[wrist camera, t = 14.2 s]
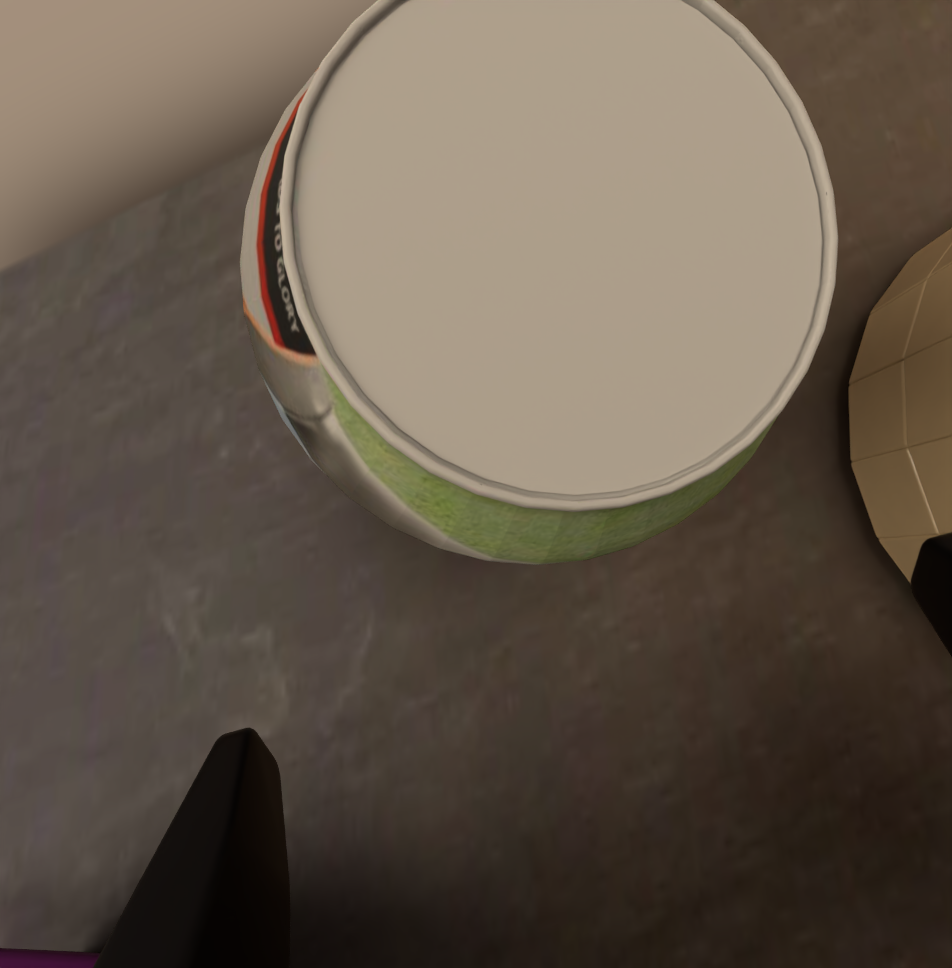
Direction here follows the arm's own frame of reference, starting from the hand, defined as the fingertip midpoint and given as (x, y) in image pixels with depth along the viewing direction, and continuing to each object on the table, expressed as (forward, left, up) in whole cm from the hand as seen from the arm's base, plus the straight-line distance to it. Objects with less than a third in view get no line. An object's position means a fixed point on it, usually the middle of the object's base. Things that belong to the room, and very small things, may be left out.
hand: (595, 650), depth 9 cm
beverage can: (+4, +2, -8) cm, 9 cm away
